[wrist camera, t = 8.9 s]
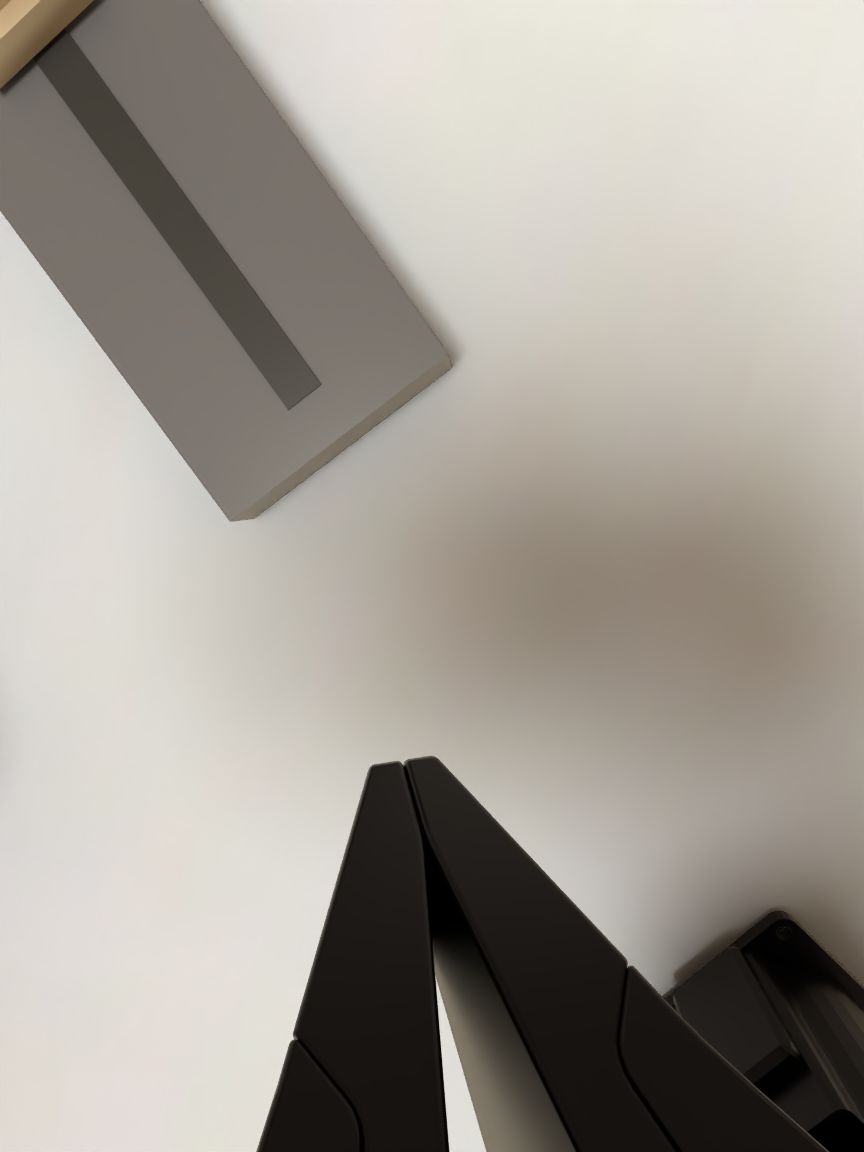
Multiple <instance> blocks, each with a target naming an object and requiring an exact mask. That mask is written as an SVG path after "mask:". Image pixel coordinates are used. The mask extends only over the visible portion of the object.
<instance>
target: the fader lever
mask: <svg viewBox="0 0 864 1152" xmlns="http://www.w3.org/2000/svg"><path fill="white" fill-rule="evenodd" d="M93 1H94V0H0V89H1V88H2V87H3V86H4V85H5V84H6V83H7V82H8V81H9V80H10V79H11V78H12V77H13V76H14V75H15V74H16V73H17V72H18V71H20V70H21V69H22V68H23V67H24V66H25V65H26V64H27V63H28V62H29V61H30V60H31V59H32V58H33V57H34V56H35V55H36V54H38V53H39V52H40V51H41V50H42V49H43V48H44V47H45V46H46V45H47V44H48V43H49V42H50V41H51V40H52V39H53V38H54V37H56V36H57V35H58V34H59V33H60V32H61V31H62V30H63V29H64V28H65V27H66V26H67V25H68V24H69V23H70V22H71V21H72V20H73V19H75V18H76V17H77V16H78V15H79V14H80V13H81V12H82V11H83V10H84V9H85V8H86V7H87V6H88V5H89V4H90V3H91V2H93Z"/></svg>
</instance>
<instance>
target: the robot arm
mask: <svg viewBox="0 0 864 1152" xmlns="http://www.w3.org/2000/svg"><path fill="white" fill-rule="evenodd" d="M781 926H787V928H786V929H785V930H784V931H782V932H776V931H777V929H778V928H779V927H781ZM627 964H628V962H627V959H626V958H625V957H624V956H623V955H622V954H621V953H620V952H619V951H618V950H617V948H616V947H615V946H614V945H613V944H612V943H611V942H610V941H609V940H608V939H607V938H606V937H605V936H604V935H603V934H602V932H601V931H600V930H599V929H598V928H597V927H596V926H595V925H594V924H593V923H592V922H591V921H590V920H589V919H588V918H587V917H586V915H585V914H584V913H583V912H582V911H581V910H580V909H579V908H578V907H577V906H576V905H575V904H574V903H573V902H572V901H571V900H570V898H569V897H568V896H567V895H566V894H565V893H564V892H563V891H562V890H561V889H560V888H559V887H558V886H557V885H556V884H555V882H554V881H553V880H552V879H551V878H550V877H549V876H548V875H547V874H546V873H545V872H544V871H543V870H542V869H541V868H540V867H539V865H538V864H537V863H536V862H535V861H534V860H533V859H532V858H531V857H530V856H529V855H528V854H527V853H526V852H525V851H524V850H523V848H522V847H521V846H520V845H519V844H518V843H517V842H516V841H515V840H514V839H513V838H512V837H511V836H510V835H509V834H508V832H507V831H506V830H505V829H504V828H503V827H502V826H501V825H500V824H499V823H498V822H497V821H496V820H495V819H494V818H493V817H492V815H491V814H490V813H489V812H488V811H487V810H486V809H485V808H484V807H483V806H482V805H481V804H480V803H479V802H478V801H477V800H476V798H475V797H474V796H473V795H472V794H471V793H470V792H469V791H468V790H467V789H466V788H465V787H464V786H463V785H462V784H461V782H460V781H459V780H458V779H457V778H456V777H455V776H454V775H453V774H452V773H451V772H450V771H449V770H448V769H447V768H446V767H445V765H444V764H443V763H442V762H441V761H440V760H439V759H438V758H436V757H434V756H427V757H421V758H414V759H408V760H406V761H405V762H404V764H402V763H401V762H399V761H394V762H387V763H381V764H374V765H372V766H371V767H370V768H369V770H368V773H367V777H366V780H365V784H364V787H363V791H362V794H361V798H360V801H359V805H358V808H357V812H356V815H355V819H354V822H353V826H352V829H351V833H350V836H349V839H348V843H347V846H346V850H345V853H344V857H343V860H342V864H341V867H340V871H339V874H338V878H337V881H336V885H335V888H334V892H333V895H332V899H331V902H330V906H329V909H328V913H327V916H326V920H325V923H324V927H323V930H322V934H321V937H320V941H319V944H318V948H317V951H316V955H315V958H314V962H313V965H312V969H311V972H310V976H309V979H308V983H307V986H306V990H305V993H304V997H303V1000H302V1004H301V1007H300V1011H299V1014H298V1018H297V1021H296V1025H295V1028H294V1032H293V1037H294V1040H292V1041H291V1042H290V1044H289V1047H288V1051H287V1054H286V1058H285V1061H284V1065H283V1068H282V1072H281V1075H280V1079H279V1082H278V1085H277V1089H276V1092H275V1095H274V1098H273V1101H272V1104H271V1107H270V1111H269V1114H268V1117H267V1120H266V1123H265V1126H264V1130H263V1133H262V1136H261V1139H260V1142H259V1145H258V1148H257V1151H256V1152H449V1142H448V1130H447V1117H446V1105H445V1092H444V1080H443V1067H442V1055H441V1042H440V1030H439V1017H438V1005H437V992H436V980H435V975H436V979H437V982H438V986H439V989H440V993H441V996H442V1000H443V1003H444V1006H445V1010H446V1013H447V1017H448V1020H449V1024H450V1027H451V1031H452V1034H453V1038H454V1041H455V1044H456V1048H457V1051H458V1055H459V1058H460V1062H461V1065H462V1069H463V1072H464V1075H465V1079H466V1082H467V1086H468V1089H469V1093H470V1096H471V1100H472V1103H473V1107H474V1110H475V1113H476V1117H477V1120H478V1124H479V1127H480V1131H481V1134H482V1138H483V1141H484V1144H485V1148H486V1151H487V1152H864V986H863V985H862V984H861V983H860V982H859V981H858V980H856V979H855V978H854V977H853V976H852V975H851V974H850V973H849V972H848V971H847V970H846V969H845V968H844V967H843V966H842V965H841V964H840V963H839V962H838V961H837V960H836V959H835V958H834V957H833V956H832V955H831V954H830V953H829V952H828V951H827V950H826V949H825V948H824V947H823V946H822V945H821V944H820V943H819V942H817V941H816V940H815V939H814V938H813V937H812V936H811V935H810V934H809V933H808V932H807V931H806V930H805V929H804V928H803V927H802V926H801V925H800V924H799V923H798V922H797V921H796V920H795V919H794V918H793V917H792V916H791V915H789V914H788V913H786V912H783V911H775V912H772V913H770V914H768V915H767V916H766V917H765V918H764V919H762V920H761V921H760V922H759V923H757V924H756V925H755V926H754V927H753V928H751V929H750V930H749V931H748V932H746V933H745V934H744V935H743V936H742V937H740V938H739V939H738V940H737V941H736V942H734V943H733V944H732V945H731V946H729V947H728V948H727V949H725V950H724V951H723V952H722V953H721V954H719V955H718V956H717V957H716V958H714V959H713V960H712V961H711V962H710V963H708V964H707V965H706V966H705V967H704V968H702V969H701V970H700V971H699V972H697V973H696V974H695V975H694V976H693V977H691V978H690V979H689V980H688V981H686V982H685V983H684V984H683V985H682V986H680V987H679V988H678V989H677V990H676V991H675V992H673V993H672V994H671V995H670V996H669V997H667V998H666V999H664V998H663V997H662V996H661V995H660V994H659V993H658V992H657V991H656V990H655V989H654V988H653V986H652V985H651V984H650V983H649V982H648V981H647V980H646V979H645V978H644V977H643V976H642V975H641V974H640V973H639V971H638V970H637V969H636V968H635V967H634V966H628V968H627Z"/></svg>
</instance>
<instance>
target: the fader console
mask: <svg viewBox="0 0 864 1152" xmlns="http://www.w3.org/2000/svg"><path fill="white" fill-rule="evenodd" d="M0 211H1V212H2V214H3V215H4V216H5V218H6V219H7V220H8V222H9V223H10V224H11V226H12V227H13V229H14V230H15V231H16V233H17V234H18V235H19V237H20V238H21V239H22V241H23V242H24V243H25V245H26V246H27V247H28V249H29V250H30V252H31V253H32V254H33V256H34V257H35V258H36V260H37V261H38V262H39V264H40V265H41V266H42V268H43V269H44V270H45V272H46V273H47V275H48V276H49V277H50V279H51V280H52V281H53V283H54V284H55V285H56V287H57V288H58V289H59V291H60V292H61V293H62V295H63V296H64V298H65V299H66V300H67V302H68V303H69V304H70V306H71V307H72V308H73V310H74V311H75V312H76V314H77V315H78V316H79V318H80V319H81V321H82V322H83V323H84V325H85V326H86V327H87V329H88V330H89V331H90V333H91V334H92V335H93V337H94V338H95V339H96V341H97V342H98V344H99V345H100V346H101V348H102V349H103V350H104V352H105V353H106V354H107V356H108V357H109V358H110V360H111V361H112V362H113V364H114V365H115V367H116V368H117V369H118V371H119V372H120V373H121V375H122V376H123V377H124V379H125V380H126V381H127V383H128V384H129V385H130V387H131V388H132V390H133V391H134V392H135V394H136V395H137V396H138V398H139V399H140V400H141V402H142V403H143V404H144V406H145V407H146V408H147V410H148V411H149V413H150V414H151V415H152V417H153V418H154V419H155V421H156V422H157V423H158V425H159V426H160V427H161V429H162V430H163V431H164V433H165V434H166V436H167V437H168V438H169V440H170V441H171V442H172V444H173V445H174V446H175V448H176V449H177V450H178V452H179V453H180V454H181V456H182V457H183V459H184V460H185V461H186V463H187V464H188V465H189V467H190V468H191V469H192V471H193V472H194V473H195V475H196V476H197V477H198V479H199V480H200V482H201V483H202V484H203V486H204V487H205V488H206V490H207V491H208V492H209V494H210V495H211V496H212V498H213V499H214V500H215V502H216V503H217V505H218V506H219V507H220V509H221V510H222V511H223V513H224V514H225V515H226V517H227V518H228V519H229V521H230V522H231V521H239V520H248V519H254V518H255V517H257V516H258V515H259V514H261V513H262V512H263V511H265V510H266V509H267V508H268V507H270V506H271V505H272V504H274V503H275V502H276V501H278V500H279V499H280V498H282V497H283V496H284V495H286V494H287V493H288V492H289V491H291V490H292V489H293V488H295V487H296V486H297V485H299V484H300V483H301V482H303V481H304V480H305V479H307V478H308V477H309V476H310V475H312V474H313V473H314V472H316V471H317V470H318V469H320V468H321V467H322V466H324V465H325V464H326V463H328V462H329V461H330V460H332V459H333V458H334V457H335V456H337V455H338V454H339V453H341V452H342V451H343V450H345V449H346V448H347V447H349V446H350V445H351V444H353V443H354V442H355V441H356V440H358V439H359V438H360V437H362V436H363V435H364V434H366V433H367V432H368V431H370V430H371V429H372V428H374V427H375V426H376V425H377V424H379V423H380V422H381V421H383V420H384V419H385V418H387V417H388V416H389V415H391V414H392V413H393V412H395V411H396V410H397V409H398V408H400V407H401V406H402V405H404V404H405V403H406V402H408V401H409V400H410V399H412V398H413V397H414V396H416V395H417V394H418V393H419V392H421V391H422V390H423V389H425V388H426V387H427V386H429V385H430V384H431V383H433V382H434V381H435V380H437V379H438V378H439V377H440V376H442V375H443V374H444V373H446V372H447V371H448V370H450V369H451V368H452V365H451V361H450V358H449V354H448V353H447V351H446V350H445V349H444V347H443V346H442V344H441V343H440V341H439V340H438V339H437V337H436V336H435V334H434V333H433V332H432V330H431V329H430V327H429V326H428V324H427V323H426V322H425V320H424V319H423V317H422V316H421V315H420V313H419V312H418V310H417V309H416V307H415V306H414V305H413V303H412V302H411V300H410V299H409V298H408V296H407V295H406V293H405V292H404V290H403V289H402V288H401V286H400V285H399V283H398V282H397V281H396V279H395V278H394V276H393V275H392V273H391V272H390V271H389V269H388V268H387V266H386V265H385V264H384V262H383V261H382V259H381V258H380V256H379V255H378V254H377V252H376V251H375V249H374V248H373V246H372V245H371V244H370V242H369V241H368V239H367V238H366V237H365V235H364V234H363V232H362V231H361V229H360V228H359V227H358V225H357V224H356V222H355V221H354V220H353V218H352V217H351V215H350V214H349V212H348V211H347V210H346V208H345V207H344V205H343V204H342V203H341V201H340V200H339V198H338V197H337V195H336V194H335V193H334V191H333V190H332V188H331V187H330V186H329V184H328V183H327V181H326V180H325V178H324V177H323V176H322V174H321V173H320V171H319V170H318V169H317V167H316V166H315V164H314V163H313V161H312V160H311V159H310V157H309V156H308V154H307V153H306V152H305V150H304V149H303V147H302V146H301V144H300V143H299V142H298V140H297V139H296V137H295V136H294V135H293V133H292V132H291V130H290V129H289V127H288V126H287V125H286V123H285V122H284V120H283V119H282V117H281V116H280V115H279V113H278V112H277V110H276V109H275V108H274V106H273V105H272V103H271V102H270V100H269V99H268V98H267V96H266V95H265V93H264V92H263V91H262V89H261V88H260V86H259V85H258V83H257V82H256V81H255V79H254V78H253V76H252V75H251V74H250V72H249V71H248V69H247V68H246V66H245V65H244V64H243V62H242V61H241V59H240V58H239V57H238V55H237V54H236V52H235V51H234V49H233V48H232V47H231V45H230V44H229V42H228V41H227V40H226V38H225V37H224V35H223V34H222V32H221V31H220V30H219V28H218V27H217V25H216V24H215V23H214V21H213V20H212V18H211V17H210V15H209V14H208V13H207V11H206V10H205V8H204V7H203V5H202V4H201V3H200V1H199V0H94V1H93V2H91V3H90V4H89V5H88V6H87V7H86V8H85V9H84V10H83V11H82V12H81V13H80V14H79V15H78V16H77V17H76V18H75V19H73V20H72V21H71V22H70V23H69V24H68V25H67V26H66V27H65V28H64V29H63V30H62V31H61V32H60V33H59V34H58V35H57V36H56V37H54V38H53V39H52V40H51V41H50V42H49V43H48V44H47V45H46V46H45V47H44V48H43V49H42V50H41V51H40V52H39V53H38V54H36V55H35V56H34V57H33V58H32V59H31V60H30V61H29V62H28V63H27V64H26V65H25V66H24V67H23V68H22V69H21V70H20V71H18V72H17V73H16V74H15V75H14V76H13V77H12V78H11V79H10V80H9V81H8V82H7V83H6V84H5V85H4V86H3V87H2V88H1V89H0Z"/></svg>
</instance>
